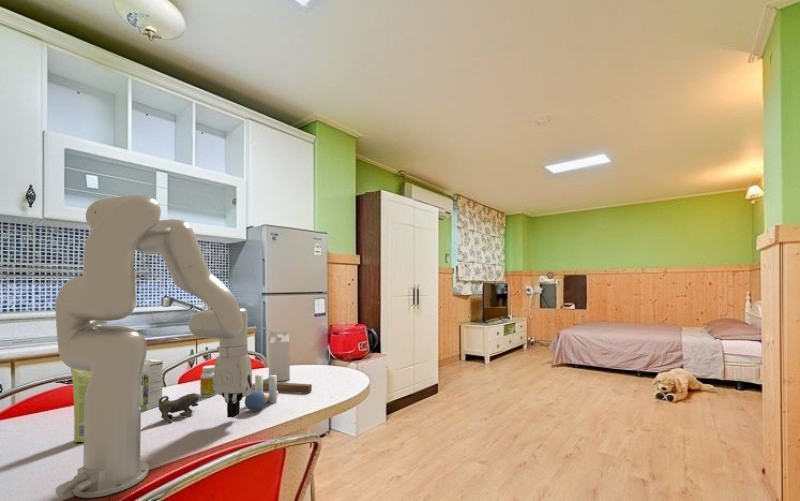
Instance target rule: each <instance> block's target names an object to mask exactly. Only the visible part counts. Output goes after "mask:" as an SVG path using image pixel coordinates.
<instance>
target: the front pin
mask: <svg viewBox="0 0 800 501" xmlns="http://www.w3.org/2000/svg"><path fill="white" fill-rule="evenodd" d="M264 395H265V404H267V403H269V392H268V393H266V394H264ZM278 396H279V391H277V397H278Z"/></svg>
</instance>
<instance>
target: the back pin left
mask: <svg viewBox="0 0 800 501" xmlns="http://www.w3.org/2000/svg"><path fill="white" fill-rule="evenodd" d="M254 379H255V380H254V383H255V384H254V386H255V387H254V390H259V391H261V392H263V393H264V390H263V382H264V374H261V373H259V374H255V376H254Z"/></svg>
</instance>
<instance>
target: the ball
mask: <svg viewBox="0 0 800 501" xmlns="http://www.w3.org/2000/svg"><path fill="white" fill-rule="evenodd" d="M265 395H266V394H265V393H264V391H263V392H261V391H259V390H255V389H254V390H251V395H249V396H246V397H244V406H245V407H246V409H247V410H248V411H252V412H255V411H258V410H259V411H260V410H261V409H262V408H263V407H264V406H265V404H266V403H265Z"/></svg>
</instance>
